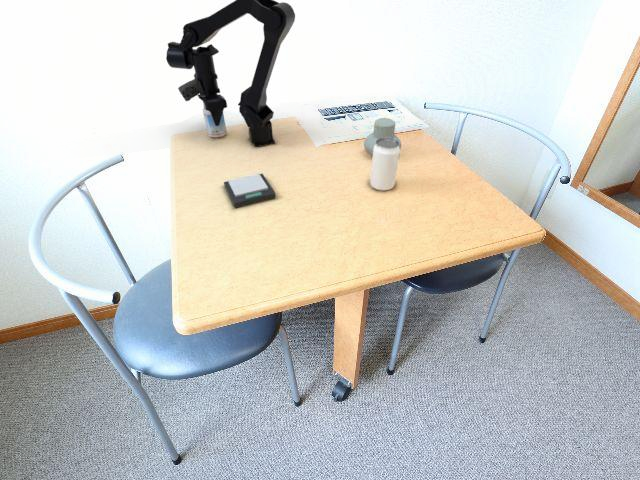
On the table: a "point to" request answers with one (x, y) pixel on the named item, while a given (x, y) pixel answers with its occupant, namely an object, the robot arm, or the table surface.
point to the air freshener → (381, 133)
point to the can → (384, 164)
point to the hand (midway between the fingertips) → (215, 122)
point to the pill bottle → (210, 125)
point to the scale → (249, 190)
